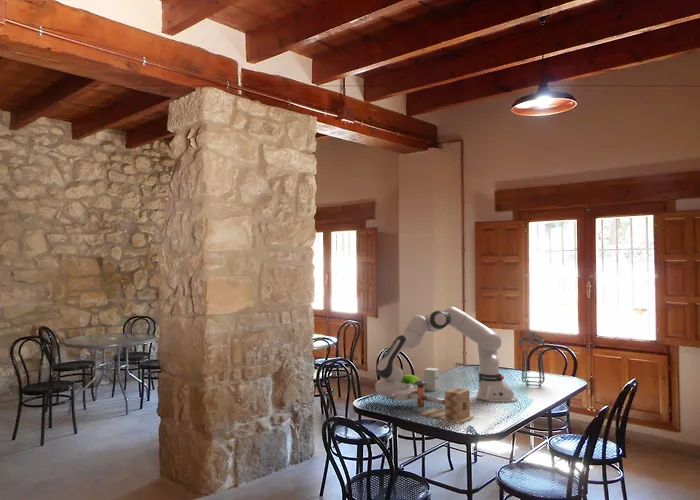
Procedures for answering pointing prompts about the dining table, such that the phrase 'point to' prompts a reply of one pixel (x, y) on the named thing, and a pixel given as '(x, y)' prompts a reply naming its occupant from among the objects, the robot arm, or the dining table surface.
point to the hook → (420, 400)
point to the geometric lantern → (537, 355)
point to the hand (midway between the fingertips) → (422, 395)
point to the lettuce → (410, 379)
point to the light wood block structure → (453, 407)
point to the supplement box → (431, 379)
